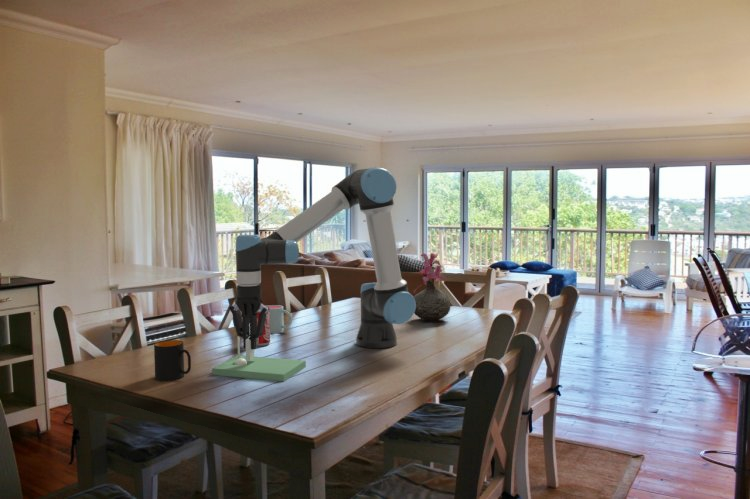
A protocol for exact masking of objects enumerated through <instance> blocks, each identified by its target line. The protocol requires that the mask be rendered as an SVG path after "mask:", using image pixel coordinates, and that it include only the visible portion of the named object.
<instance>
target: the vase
mask: <svg viewBox="0 0 750 499" xmlns="http://www.w3.org/2000/svg"><path fill="white" fill-rule="evenodd" d="M438 255H439V253H436V254H435V253H433V252H431V253H430V256H429V257H428V255H427V254H426V253H422V254H420V257H422V258H423V260H424V261H423V266H424V268H423V269H421V270H419V272H420V274H421V275H423V276H422V284H419V285H418V286H417V287H416V288H415V289H414V291H413V293H415V292H416V291H417V289H419V287H421V286H423V285H425V286H426V287H425V289H423V290H421V291H420V292H418V293H416V294H415V295H414V296H413V297H414V299H415V302H416V309H415V312H414V315H415V316H417V317H418V318H419V319H421V320H422V321H423V322H425V323H437V322H439V321H440V320H441V319H443V318H445V317H446V316H447V315H448V314H449V312H450V310H451V300H450V298H449V296H447V294H445V292H443V291H441V290H439V289H437V288H436V286H435V284H434V282H439V281H441V280H442V281H445V280H446V276H445V275H443V274H441V273H442V272H443V269H442V268H440V267H442V265H441V263H440V262H439V260H437V259H436V258H437V257H438ZM435 264H436V265H437V266H435V267H434V268H433V266H434V265H435ZM439 274H440V275H439ZM432 279H434V280H433V281H434V282H432ZM440 279H441V280H440Z"/></svg>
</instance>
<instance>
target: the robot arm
mask: <svg viewBox="0 0 750 499" xmlns="http://www.w3.org/2000/svg"><path fill="white" fill-rule="evenodd" d="M396 193H397V181H396V179H395V176H394V175H393V174H392V173H391V172H390V171H389V170H388V169H385V168H383V167H376V166H375V167H369V168H363V169H362V168H361V169H357V170H355V171H353V172H351V173H350V174H348V175H347V176H346V177H345V178H343V179H342V180H340V181H339V182H337V183H336V184H335V185H334V186H332V187H331V190H330V192H329V193H327V194H326V195H325V196H323V197H322V198H320V199H319V200H317V201H316V202H314V203H313V204H311V206H309V207H308V208H306V209H305V210H303V211H302V212H300V213H299V214H298V215H296V216H295V217H293V218H292V219H290V220H289V221H287V222H286V223H285V224H282V226H281V227H279V228H278V229H277V230H275V231H274V232H272V233H271V234H269V235H268V236H266V237H261V236H260V235H259V234H240V235H237V236H236V239H235V249H234V250H235V267H236V268H235V269H236V272H235V276H236V279H235V280H236V281H235V283H236V284H237V286H236V301H235V304H233V305H231V306H229V311H230V313H231V314H232V319H233V322H234V326H235V331H236V336H239V337H240V338H242V341H243V345H242V348H243V349H245V356H246V360H252V359H254V357H255V349H257V347H258V346H257V345H256V339H257V338H258V337H260V336H262V333H263V329H264V324H265V319H266V314H267V313H268V311H269V307H265V306H266V305H265V304H263V300H262V285H261V282H262V265H265V266H266V265H289V264H296V263H297V262H298V260H299V257H300V248H299V244H298V243H299V242H300V241H301V240H303V239H304V238H306V237H307V236H309V235H310V234H311V233H313V232H314V231H316V230H317V229H318V228H320V227H321V226H322V225H324V224H326V223H327V222H328V221H330V220H331V219H332V218H333V217H335V216H336V215H337V214H339V213H340V212H342V211H343V210H347V211H348V210H350V209H351V208H353V207H354V206H356V205H359V210H360V212H362V213H363V214H364V215H365V219H366V225H367V230H368V236H369V242H370V243H369V244H370V247H371V252H372V253H371V254H372V261H373V265H374V271H375V278H376V282H367V283H362V284H361V286H360V292H359V294H360V325H359V328H358V331H357V335H356V338H355V344H356V346H359V347H362V348H367V349H385V348H391V347H395V346H396V345H397V344H398V337H397V335H396V331H395V328H394V326H393V324H395V325H402V324H405V323H407V322H409V321H410V320H411V319H412V317H413V315H415V313H414V312H415V309H416V302H415V299H414V296H413V295H412V294H411V293H410V292H409V287H408V282H407V280H405V279H404V278H402V273H401V272H402V271H401V268H400V266H401V265H400V261H399V260H400V259H399V255H398V250H397V249H398V248H397V244H396V238H395V231H394V225H393V219H392V214H391V210H392V209H393V207H394V205H395V204H394V203H395V202H394V196H395V194H396ZM259 309H260V315H259V319H258V324H257V312H258V310H259Z"/></svg>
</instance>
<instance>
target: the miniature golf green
mask: <svg viewBox="0 0 750 499" xmlns="http://www.w3.org/2000/svg"><path fill="white" fill-rule="evenodd" d="M236 336H237V335H236ZM240 338H241V337H239V336H237V337H236V339H237V355H236V356H235V357H233V358H230V359H228V360H226V361H224V362H222V363H220V364H218V365H216V366H214V367H212V368H211V374H212V376H213V375H214V376H222V377H224V376H225V377H234V378H243V379H244V378H245V379H254V380H255V379H256V380H268V381H277V382H285V381H287V380H288V379H290V378H291V377H292V376H295V375H296V374H297V373H299V372H301V371H302V370H303V369H305V368H306V366H307V365H306V364H307V361H306V360H301V359H291V358H289V359H288V358H278V357H264V356H254V359H252V360H246V355H241V342H240V341H241V339H240ZM239 358H243V359H245V360H246V361H247V366H241V365H235V363H236V361H237V360H238V359H239Z"/></svg>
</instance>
